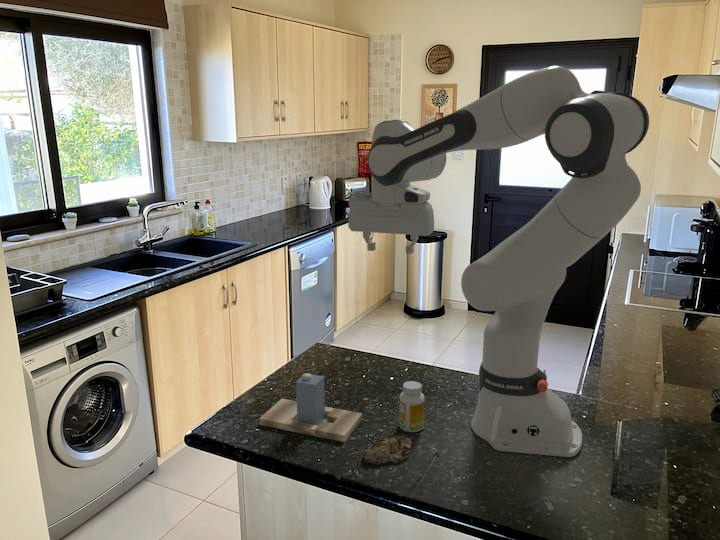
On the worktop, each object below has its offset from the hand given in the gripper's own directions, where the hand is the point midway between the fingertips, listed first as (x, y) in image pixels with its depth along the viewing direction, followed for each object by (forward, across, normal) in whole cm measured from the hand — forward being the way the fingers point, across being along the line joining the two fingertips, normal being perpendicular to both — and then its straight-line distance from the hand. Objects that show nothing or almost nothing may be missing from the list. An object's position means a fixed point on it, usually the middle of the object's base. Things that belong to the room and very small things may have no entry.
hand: (390, 251), depth 137 cm
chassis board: (+34, -10, -24) cm, 43 cm away
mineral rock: (+35, +9, -30) cm, 47 cm away
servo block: (+34, -10, -24) cm, 43 cm away
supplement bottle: (+34, +11, -18) cm, 40 cm away
